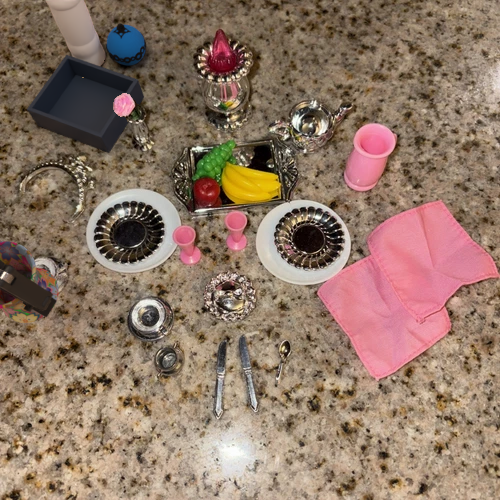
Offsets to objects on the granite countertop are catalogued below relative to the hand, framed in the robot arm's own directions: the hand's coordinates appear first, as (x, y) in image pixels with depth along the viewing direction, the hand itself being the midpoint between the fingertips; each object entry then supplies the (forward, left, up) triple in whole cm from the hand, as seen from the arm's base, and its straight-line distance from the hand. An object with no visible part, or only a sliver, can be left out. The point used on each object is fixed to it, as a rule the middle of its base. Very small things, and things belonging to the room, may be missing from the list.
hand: (22, 295), depth 71 cm
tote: (-20, +43, -19) cm, 51 cm away
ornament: (-19, +59, -19) cm, 65 cm away
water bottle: (-28, +55, -19) cm, 65 cm away
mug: (-1, 0, -2) cm, 2 cm away
